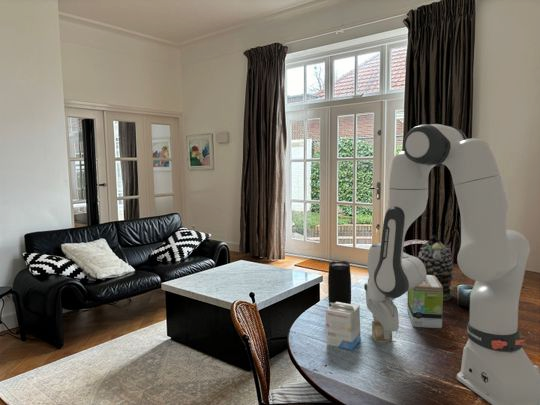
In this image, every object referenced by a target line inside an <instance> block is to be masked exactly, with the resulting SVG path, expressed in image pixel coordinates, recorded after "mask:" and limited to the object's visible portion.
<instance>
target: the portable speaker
mask: <svg viewBox="0 0 540 405" xmlns="http://www.w3.org/2000/svg"><path fill="white" fill-rule="evenodd" d="M327 274H328V275H327V282H328V283H327V285H328V286H327V288H328V290H327V292H328V293H327V294H328V296H327V299H328V306H329V307H330V306H331V304H330V303H335V302H341V303H346V304H352V276H351V275H352V274H351V264H350V262H349V261H347V260H343V261H335V260H331V261H329V262H328V273H327ZM329 307H328V308H329Z"/></svg>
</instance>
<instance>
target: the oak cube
mask: <svg viewBox="0 0 540 405" xmlns="http://www.w3.org/2000/svg"><path fill="white" fill-rule="evenodd" d="M383 332H384V327H383V325H382V324H381V323H380V322H379V321H374V320H372V321H371V337H372V338H374V340H375V341H376V342H377V343H383V342H393V331H391V332H390V338H389V339H385V338H384V337H383Z"/></svg>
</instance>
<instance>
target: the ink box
mask: <svg viewBox="0 0 540 405" xmlns="http://www.w3.org/2000/svg"><path fill="white" fill-rule="evenodd" d="M330 304H331V306H330V307H328V308H327V309H325V321H326V322H325V323H326V345H327V346H331V347H336V348H341V349H346V350H351V351H353V350H354V348H356V346H357V345H358V344H359V342H360V341H361V317H360V316H361V312H360V308H361V307H360V305H357V304H352V303H351V304H346V303H341V302H335V303H330Z"/></svg>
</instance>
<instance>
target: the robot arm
mask: <svg viewBox="0 0 540 405" xmlns="http://www.w3.org/2000/svg"><path fill="white" fill-rule="evenodd" d="M402 149H403V150H402V151H400V152H398V153H396V154H395V155H394V156H393V158H392V163H391V167H390V173H389V181H388V182H389V183H388V184H389V186H388V201H387V209H386V212H385V215H384V219H383V225H382V233H381V241H380V242H378V243H374V244H372V245H371V246H370V247H369V250H368V251H367V252H368V253H367V272H368V279H367V282H366V283H364V284H363V285H364V286H363V288H364V290H365V304H366V307H367V310H368V311H369V312H370V313H371V314H372V320H373V321H379V322H380V323H381V324H382V325H383V327H384V332H383V337H384V338H385V339H389V338H390V332H391V331H392V332H397V331H398V330H399V328H400V325H399V324H400V323H399V322H400V321H399V310H398V307H397V305H396V304H394V300H395V299H399V298H401V297H402V296H403V295H404V294H406V293H408V291H409V290H411V289H413V288H414V287H416V286H418V285H420V284H421V283H423V282H424V280H425V279H426V275H427V272H426V267H425V265H424V263H423V262H422V261H421V260H420V259H419V258H418V256H414V255H410V254H409V253H406V252H404V246H405V237H406V234H407V231H408V230H409V228H410V227H411V225H412V224H413V223H414V222H415V221H416V220H417V219H418V218H419V217H420V216H421V215H422V214H423V213H424V212H425V210H426V208H427V205H428V199H429V175H430V172H431V170H432V169H433V168H434V167H437V168H438V167H441V166H446V167H447V169H448V170H449V172H450V175H451V178H452V183H453V188H454V191H455V195H456V199H457V204H458V209H459V214H460V227H461V228H460V247H459V251H458V253H457V259H456V260H457V264H458V268H459V269H460V270H461V272H462V274H463V275H465V276H466V277H467V278H469V279H471V280H473V281H475V282H474V284H473V287H472V289H471V292H470V294H469V295H470V296H469V320H468V322H467V326H466V330H467V331H466V332H467V334H466V335H467V337H468V338H467V342H466V344H465V345H464V347H463V349H462V350H463V351H462V356H461V357H462V358H461V366H460V371H459V372H458V373H457V374H456V379H457V381H459V382H460V383H462V384H463V385H464V386H466V387H467V388H469V389H470V390H471V391H473V392H474V393H476V394H477V395H478V396H480V397H481V398H482V399H484V400H485V401H487V402H488V403H489V404H491V405H540V367H539V366H538V365H536V364H533V362H532V360H530V357H528V355H527V353H526V352H525V350H524V348H523V345H525V339H522V334H521V333H520V329H519V328H518V326H519V324H518V323H519V306H520V305H519V303H520V294H521V291H522V286H523V282H524V277H525V272H526V267H527V261H528V257H529V256H530V253H531V246H530V242H529V240H528V239H527V238H526V236H525V235H523V234H522V233H520V232H518V231H517V230H512V229H507V213H508V212H507V211H508V200H507V196H506V192H505V189H504V184H503V181H502V177H501V173H500V169H499V166H498V163H497V161H496V158H495V156H494V154H493V152H492V150H491V148H490V146H489V144H488V142H486V141H485V140H483V139H482V138H477V137H476V138H472V137H471V138H468V137H467V136H466V134H465V133H464V132H463V131H462V130H461V129H459V128H458V127H456V126H451V125H444V124H439V123H434V124H432V123H431V124H425V123H424V124H419V125H416V126H414V127H413V128H411V129H410V130H409V131H408V132H406V134H405V136H404V137H403V141H402Z"/></svg>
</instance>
